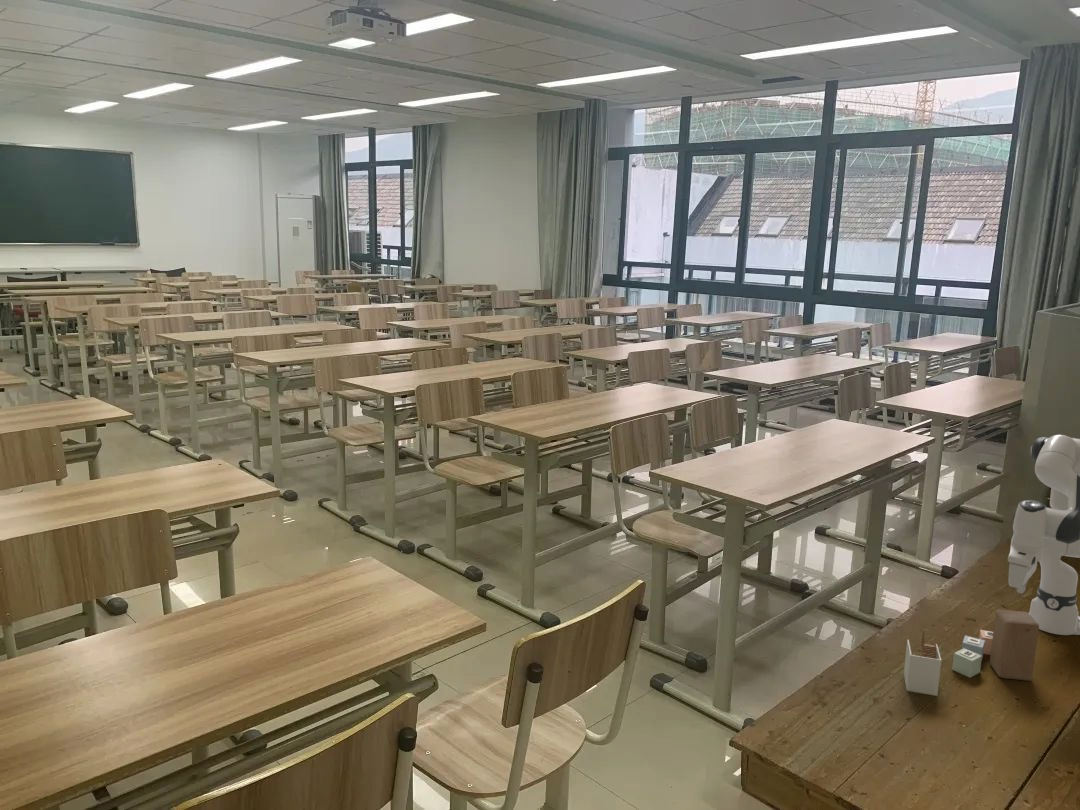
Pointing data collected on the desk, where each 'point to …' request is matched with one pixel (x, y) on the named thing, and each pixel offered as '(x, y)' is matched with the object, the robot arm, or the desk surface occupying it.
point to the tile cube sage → (967, 662)
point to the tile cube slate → (974, 645)
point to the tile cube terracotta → (986, 640)
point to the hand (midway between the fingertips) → (1020, 591)
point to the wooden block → (1014, 644)
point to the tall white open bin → (922, 670)
